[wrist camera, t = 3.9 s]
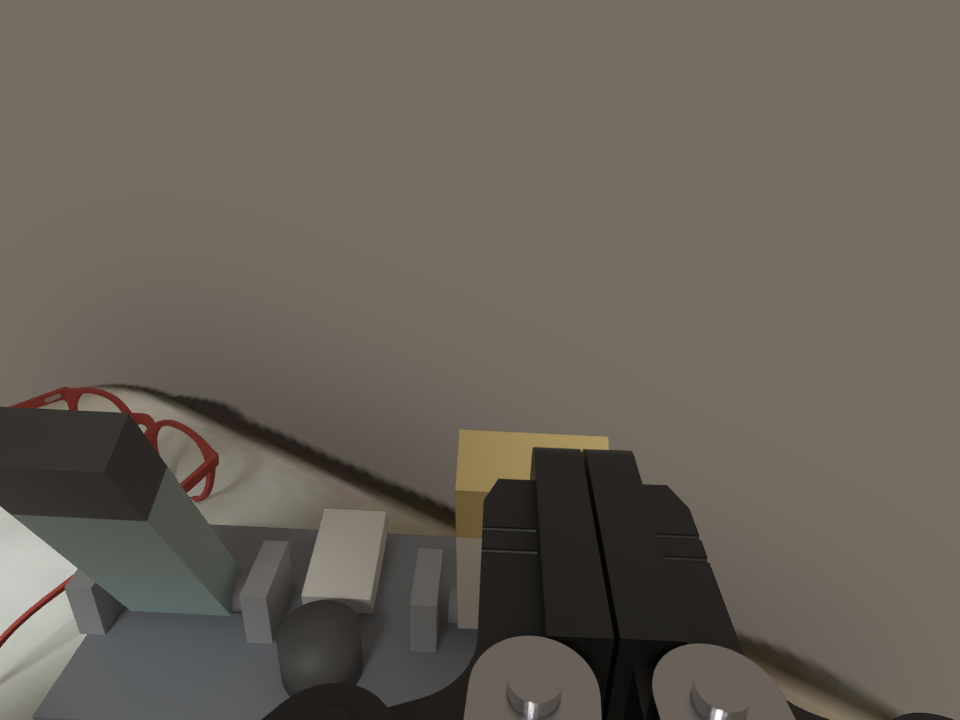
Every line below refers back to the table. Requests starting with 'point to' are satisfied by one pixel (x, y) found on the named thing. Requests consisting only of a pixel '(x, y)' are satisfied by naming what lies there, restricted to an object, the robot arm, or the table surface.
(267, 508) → the table surface
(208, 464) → the red eyeglasses
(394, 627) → the console
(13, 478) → the teal lever
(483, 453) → the white and yellow lever
